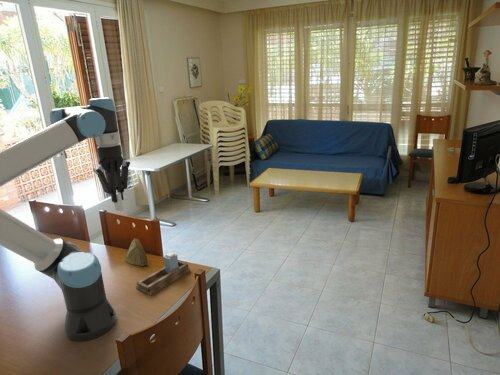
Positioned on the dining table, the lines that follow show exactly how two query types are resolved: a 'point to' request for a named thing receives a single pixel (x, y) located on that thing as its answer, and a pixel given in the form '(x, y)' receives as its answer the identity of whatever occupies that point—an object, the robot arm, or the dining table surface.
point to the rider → (170, 262)
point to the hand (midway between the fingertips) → (119, 209)
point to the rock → (136, 254)
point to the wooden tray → (161, 278)
